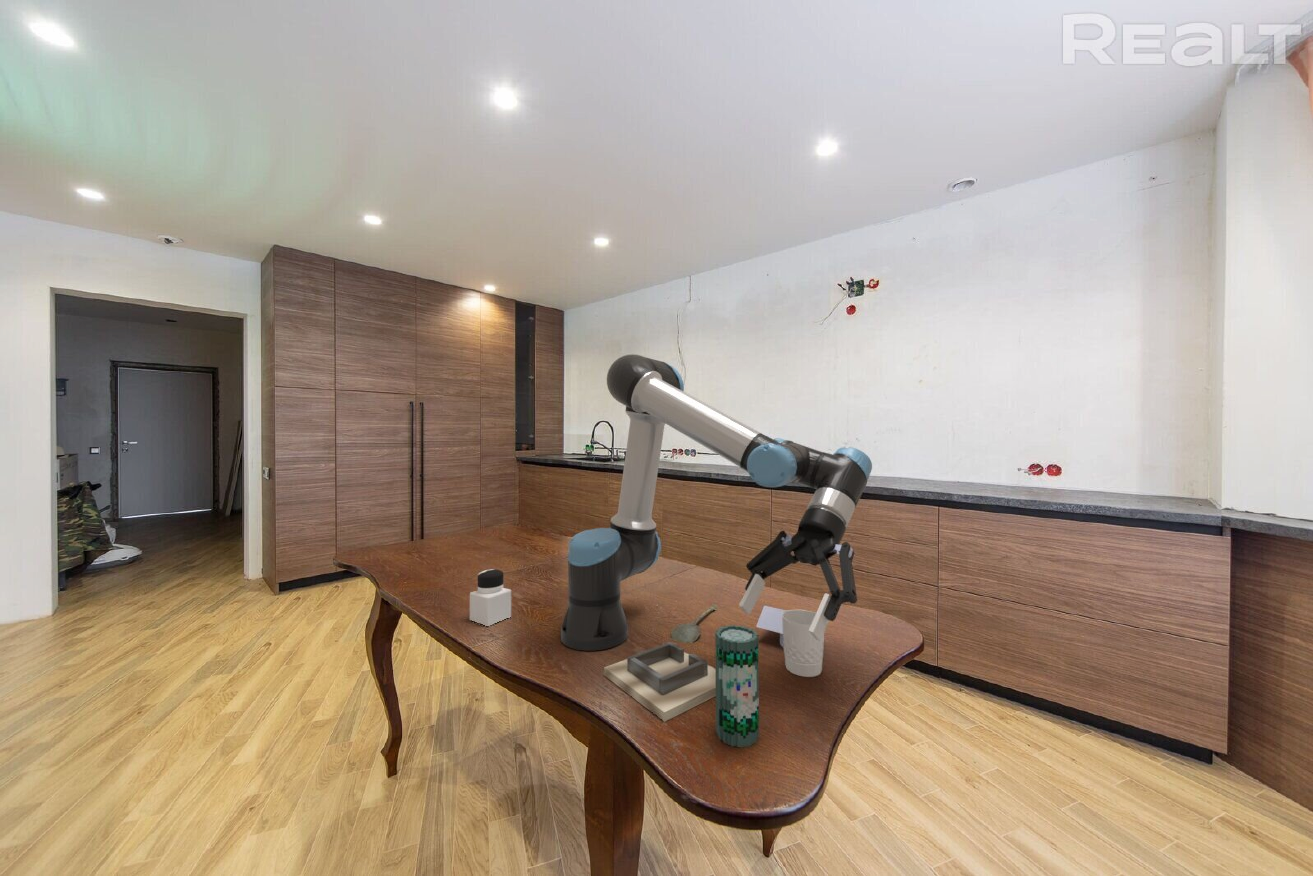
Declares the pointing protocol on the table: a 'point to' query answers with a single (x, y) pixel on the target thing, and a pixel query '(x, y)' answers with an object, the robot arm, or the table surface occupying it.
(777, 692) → the table surface
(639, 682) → the board with grey rim
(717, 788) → the table surface
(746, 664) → the can
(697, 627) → the soupspoon
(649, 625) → the table surface
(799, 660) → the white cup
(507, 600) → the medicine bottle
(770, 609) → the wedge on round base
